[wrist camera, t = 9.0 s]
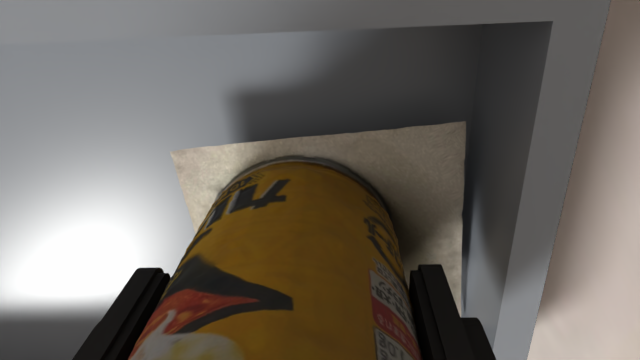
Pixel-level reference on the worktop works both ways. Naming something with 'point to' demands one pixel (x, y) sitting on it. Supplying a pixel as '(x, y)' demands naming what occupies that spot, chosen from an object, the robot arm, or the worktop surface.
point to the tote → (271, 132)
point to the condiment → (311, 246)
